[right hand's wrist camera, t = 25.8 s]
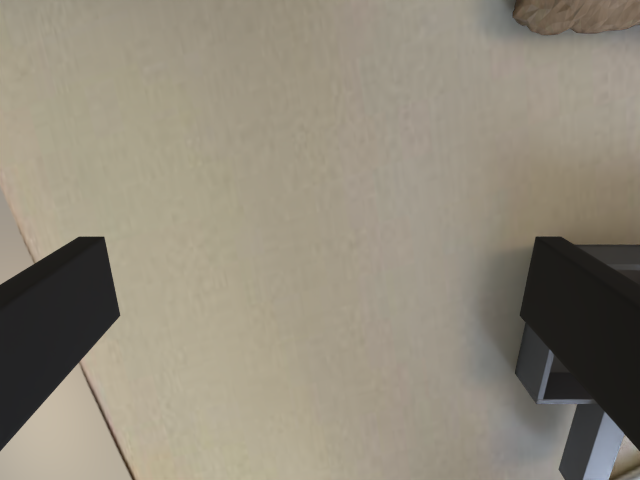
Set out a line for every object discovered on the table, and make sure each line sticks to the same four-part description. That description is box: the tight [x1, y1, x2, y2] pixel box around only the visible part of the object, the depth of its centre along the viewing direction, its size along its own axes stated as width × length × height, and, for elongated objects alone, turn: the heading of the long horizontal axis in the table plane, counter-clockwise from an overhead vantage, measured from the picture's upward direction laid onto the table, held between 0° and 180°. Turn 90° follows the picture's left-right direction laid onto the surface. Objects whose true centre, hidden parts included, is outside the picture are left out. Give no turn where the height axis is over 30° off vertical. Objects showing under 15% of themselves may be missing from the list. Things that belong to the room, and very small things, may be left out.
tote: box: [515, 245, 640, 480], centre depth 41 cm, size 27×15×6 cm, turn 0°
